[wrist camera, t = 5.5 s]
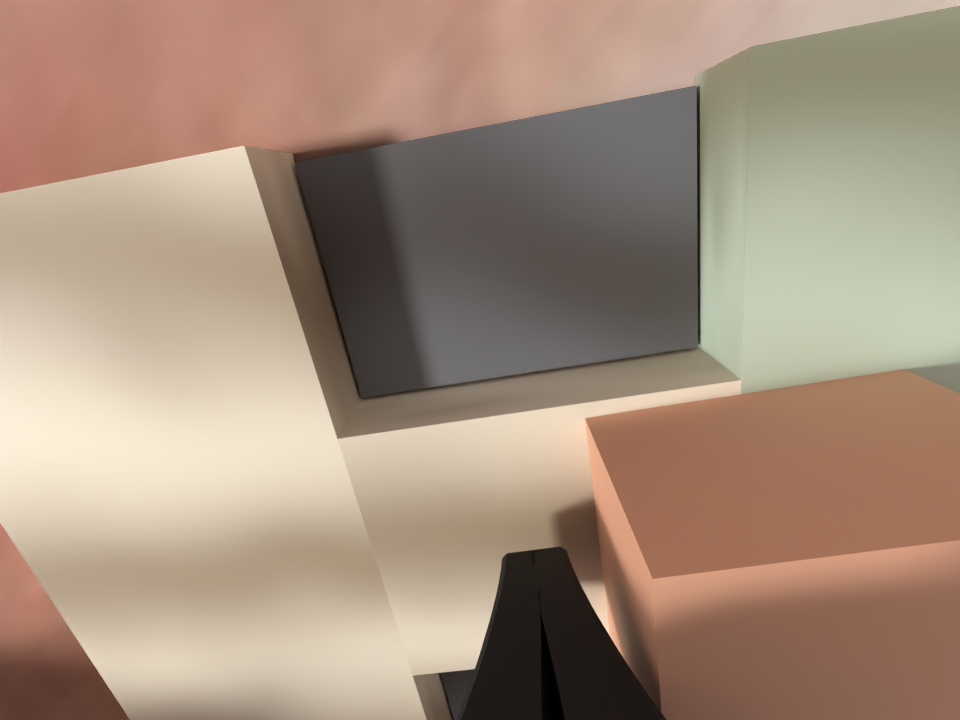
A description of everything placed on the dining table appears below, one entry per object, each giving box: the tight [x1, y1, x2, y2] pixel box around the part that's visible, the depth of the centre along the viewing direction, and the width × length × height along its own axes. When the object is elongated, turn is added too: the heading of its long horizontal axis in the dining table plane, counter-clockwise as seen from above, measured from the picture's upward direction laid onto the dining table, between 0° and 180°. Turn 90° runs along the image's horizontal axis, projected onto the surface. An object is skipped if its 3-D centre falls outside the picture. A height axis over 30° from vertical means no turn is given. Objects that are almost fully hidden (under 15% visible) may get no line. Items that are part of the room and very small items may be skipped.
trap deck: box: [0, 6, 960, 720], centre depth 11 cm, size 18×24×2 cm
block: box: [585, 369, 960, 720], centre depth 8 cm, size 6×6×4 cm
